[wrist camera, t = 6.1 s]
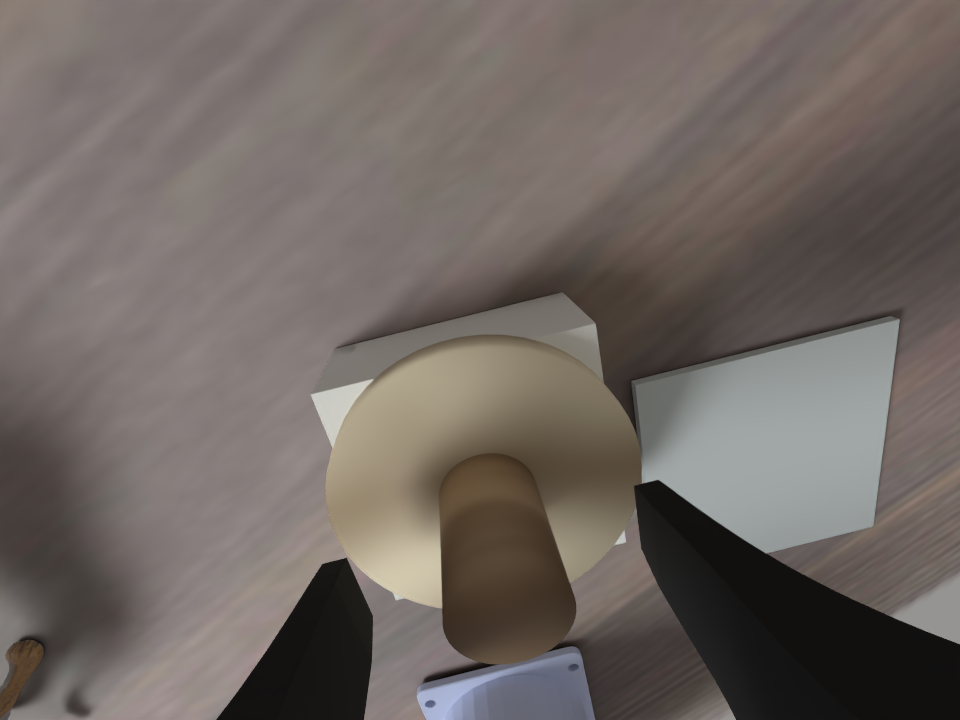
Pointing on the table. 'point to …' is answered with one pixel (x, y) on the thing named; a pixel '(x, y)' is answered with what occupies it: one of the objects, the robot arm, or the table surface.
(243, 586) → the table surface
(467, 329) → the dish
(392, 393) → the lid
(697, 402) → the mat
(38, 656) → the lion figurine
